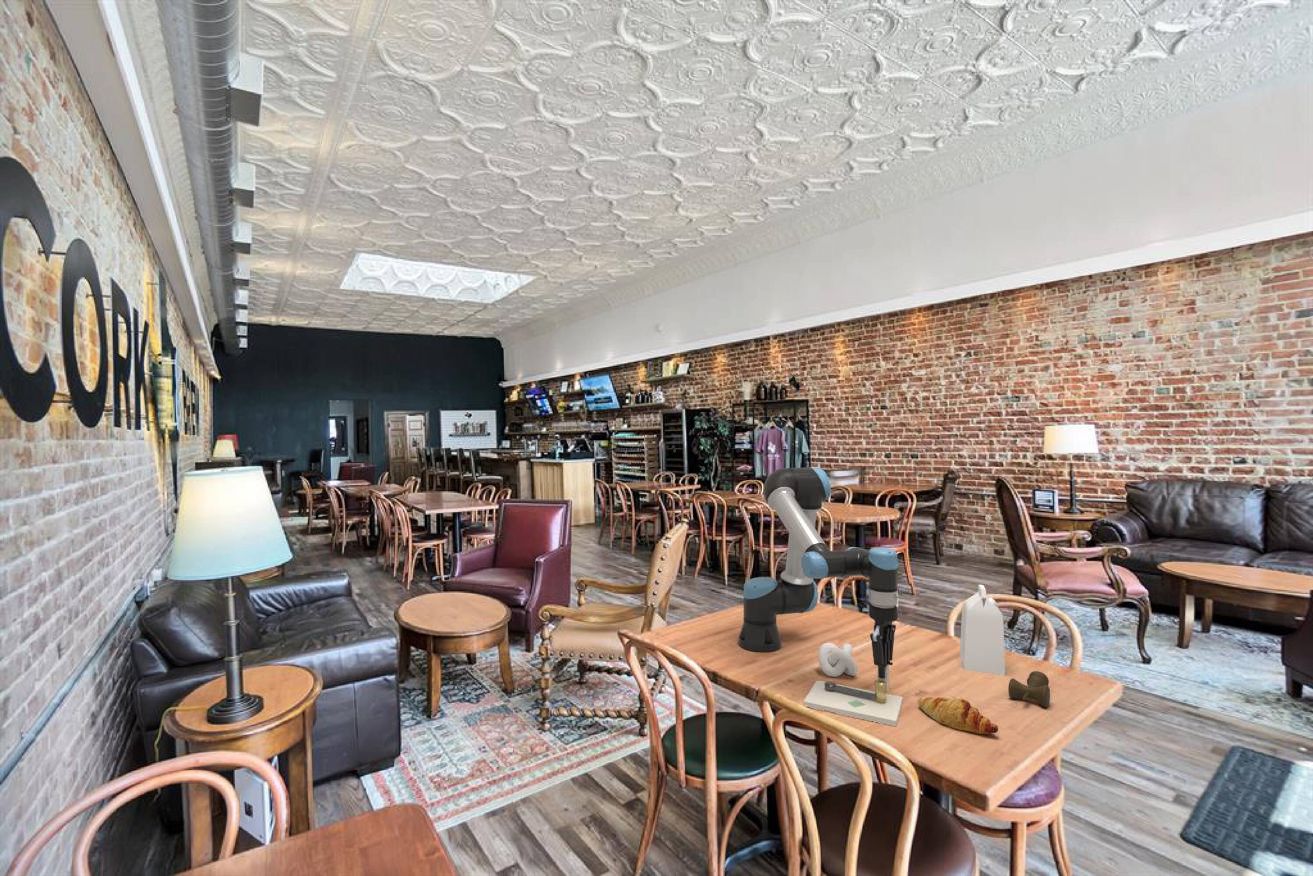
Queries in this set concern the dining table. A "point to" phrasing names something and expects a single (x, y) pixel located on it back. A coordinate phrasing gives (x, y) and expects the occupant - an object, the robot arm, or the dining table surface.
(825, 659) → the white knot sculpture
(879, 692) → the grey crank handle
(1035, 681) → the kendama
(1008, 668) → the dining table surface
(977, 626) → the milk
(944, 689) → the dining table surface
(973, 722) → the croissant
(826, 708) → the board
